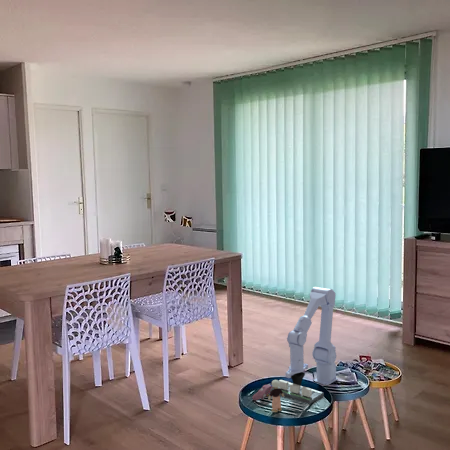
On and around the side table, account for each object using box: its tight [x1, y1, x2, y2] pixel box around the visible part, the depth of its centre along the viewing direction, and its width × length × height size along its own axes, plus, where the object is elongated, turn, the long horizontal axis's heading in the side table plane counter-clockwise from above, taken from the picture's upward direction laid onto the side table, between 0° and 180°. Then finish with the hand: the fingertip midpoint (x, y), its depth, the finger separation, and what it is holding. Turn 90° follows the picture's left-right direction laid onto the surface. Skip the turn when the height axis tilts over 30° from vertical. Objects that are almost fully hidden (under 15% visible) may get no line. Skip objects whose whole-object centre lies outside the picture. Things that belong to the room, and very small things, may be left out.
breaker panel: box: [278, 381, 325, 405], centre depth 223 cm, size 11×19×2 cm, turn 48°
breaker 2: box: [302, 386, 313, 397], centre depth 217 cm, size 2×4×3 cm, turn 48°
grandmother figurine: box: [267, 379, 285, 413], centre depth 207 cm, size 8×4×13 cm, turn 131°
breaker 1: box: [278, 379, 289, 390], centre depth 225 cm, size 2×4×3 cm, turn 48°
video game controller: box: [251, 383, 274, 401], centre depth 220 cm, size 10×5×7 cm, turn 144°
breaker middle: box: [290, 382, 300, 394], centre depth 220 cm, size 2×4×3 cm, turn 47°
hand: (297, 388), depth 222 cm, fingers closed
